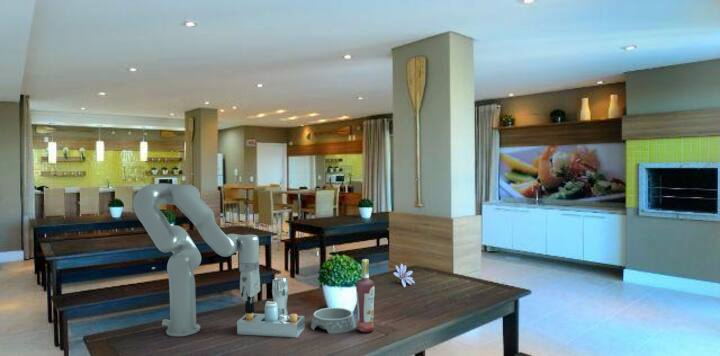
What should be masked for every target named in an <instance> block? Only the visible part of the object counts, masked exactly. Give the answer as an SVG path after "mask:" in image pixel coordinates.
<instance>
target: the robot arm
mask: <svg viewBox="0 0 720 356" xmlns="http://www.w3.org/2000/svg"><path fill="white" fill-rule="evenodd" d="M132 204H133V210H134V213H135V216H136V217H137V219H138V220H139V222H140V223H141V224H142V226H143V227H144V229H145V231H146V232H147V234H148V236H149V237H150V238H151V240H152V241H153V243H154V245H155V246H156V248H157V249H158V250H159V251H160V252H162V253H170V252H171V253H172V254H173V255H171V256H170V257H169V259H168V262H167V264H166V265H167V266H166V270H167V277H168V286H169V289H168V290H169V318H170V319H167V318H164V319H162V322H161V326H162V327H167V328H166V330H165V331H166V335H167V336H169V337H175V338H176V337H178V338H180V337H186V336H192V335H194V334H196V333H198V332H200V330H201V325H200V324H199V323H197V309H196V308H197V305H196V303H197V302H196V296H197V295H196V280H195V275H194V270H196V269H197V268H199V266H200V265H201V262H202V255H201V252H200V251H199V249H198V247H197V246H196V244H195V242H194V241H193V239H192V238H191V236H190V234H189V233H188V232H187V230H185V229H184V228H183V227H182V226H180V225H175V224H174V225H171V223H170V222H169V220H168V219H167V217H166V215H165V214H164V213H163V212H162V211H161V210H160V209H159V207H158V206H161V205H175V206H176V207H177V208H178V209H179V211H180V212H181V213H182V214H183V215H185V216H186V218H187V219H189V220H190V221H191V223H192V224H193V225H194V226H195V227H196V230H197V231H198V233H199V235H200V236H201V238H202V240H203V241H204V242H205V243H206V244H207V245H208V246H209V247H210V249H212V250H213V251H214V252H215V254H217V255H219V256H221V257H226V258H227V257H230V256H232V255H233V254H235V253H237V252H238V253H239V254H238V255H239V256H238V260H239V263H238V264H239V265H238V266H239V272H240V277H239V294H240V295H239V296H240V297H241V298H242V302H244V311H245V312H244V313H245V314H246V313H254V312H255V301H256V300H255V298H256V295H257V294H258V293H260V292H261V278H260V246H259V245H260V243H259V242H260V241H259V240H260V238H259V236H258V235H256V234H238V233H228V234H226V233H225V232H224V231H223V230H222V229H221V228H220V226H219V225H218V224H217V222H216V219H215V214H214V211H213V209H212V208H210V206H208V204H207V203H206V202H204V200H203V199H202V198H201V193H200V190H199V188H198V187H196V186H195V185H192V184H179V183H178V184H177V183H166V182H165V183H164V182H163V183H151V184H147V185H144V186H142V187H141V188H140V189H139V190H137V192H136V193H135V195H134V198H133V203H132Z"/></svg>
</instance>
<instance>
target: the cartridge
mask: <svg viewBox="0 0 720 356" xmlns="http://www.w3.org/2000/svg"><path fill="white" fill-rule="evenodd" d="M264 314H265V321H270V322H277V321H278V305H277V303H276V302H274V301H269V300H268V301H266V302H265V305H264Z"/></svg>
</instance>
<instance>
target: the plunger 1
mask: <svg viewBox="0 0 720 356" xmlns="http://www.w3.org/2000/svg"><path fill="white" fill-rule="evenodd" d="M253 313H254V312H253ZM253 313H245V315H246V320H250V321H251V320H252V319H253Z"/></svg>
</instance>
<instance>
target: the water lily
mask: <svg viewBox="0 0 720 356" xmlns="http://www.w3.org/2000/svg"><path fill="white" fill-rule="evenodd" d="M399 266H400V267H399ZM399 266H398V265H395V269H396V271H397V272H396V271H395V272H393V273H392V274H393V275H394V276H395V277H397V278H399V280H397V283H400V282H401V285H402V286H403V287H404V288H406V286H407V284H409V285H412V284H416V282H415V280H413V279H414V278H413V277H411V275H412V274H413V271H412V270H408V271H407V265H406V264H405V265H404V264H403V263H400V265H399Z"/></svg>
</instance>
